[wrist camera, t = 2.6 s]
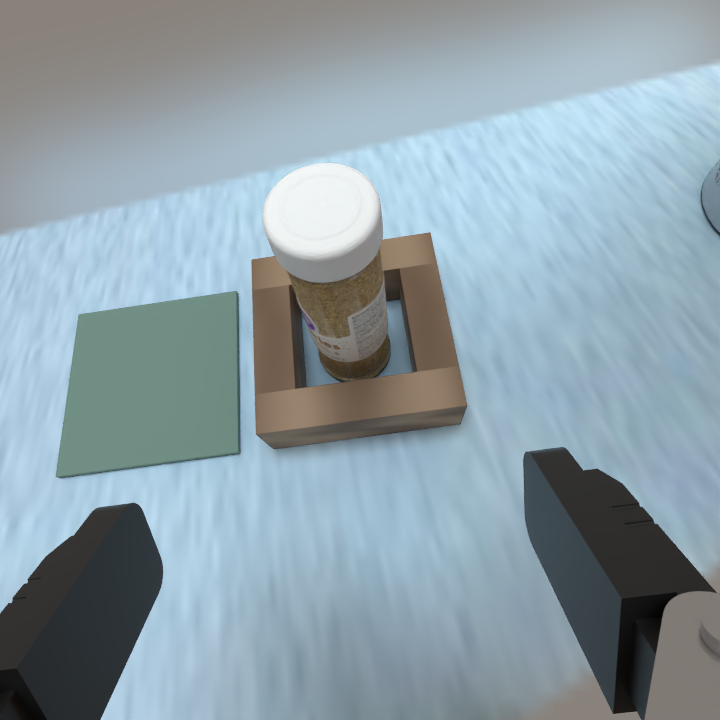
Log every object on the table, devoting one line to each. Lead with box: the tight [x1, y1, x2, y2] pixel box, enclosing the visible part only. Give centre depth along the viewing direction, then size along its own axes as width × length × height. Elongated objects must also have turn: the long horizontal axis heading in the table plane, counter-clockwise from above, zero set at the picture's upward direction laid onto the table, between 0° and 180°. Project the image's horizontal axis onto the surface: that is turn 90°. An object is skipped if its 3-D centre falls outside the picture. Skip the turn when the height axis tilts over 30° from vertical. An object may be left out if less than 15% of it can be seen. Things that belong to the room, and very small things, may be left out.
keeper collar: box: [252, 233, 467, 449], centre depth 28 cm, size 11×11×4 cm
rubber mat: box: [56, 291, 240, 478], centre depth 30 cm, size 11×11×1 cm
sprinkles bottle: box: [262, 163, 390, 382], centre depth 24 cm, size 5×5×14 cm
